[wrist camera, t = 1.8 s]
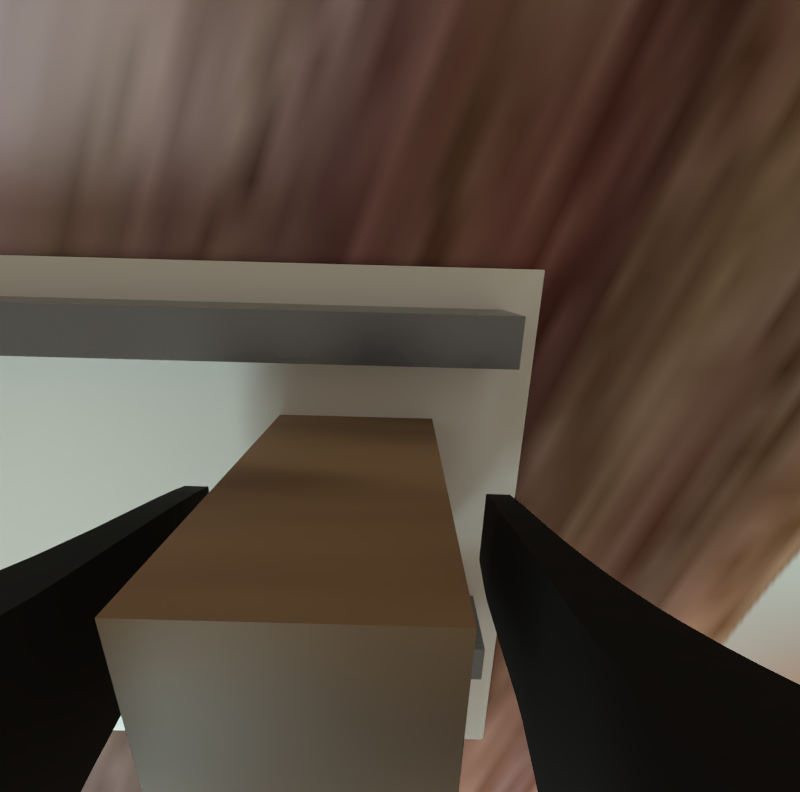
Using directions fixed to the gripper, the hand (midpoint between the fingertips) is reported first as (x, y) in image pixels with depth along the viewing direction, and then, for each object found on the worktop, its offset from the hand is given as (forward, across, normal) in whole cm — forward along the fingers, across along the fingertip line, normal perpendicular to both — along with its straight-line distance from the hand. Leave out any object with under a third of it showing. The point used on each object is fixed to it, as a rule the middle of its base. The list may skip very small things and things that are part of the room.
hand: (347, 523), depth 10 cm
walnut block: (+2, 0, 0) cm, 2 cm away
